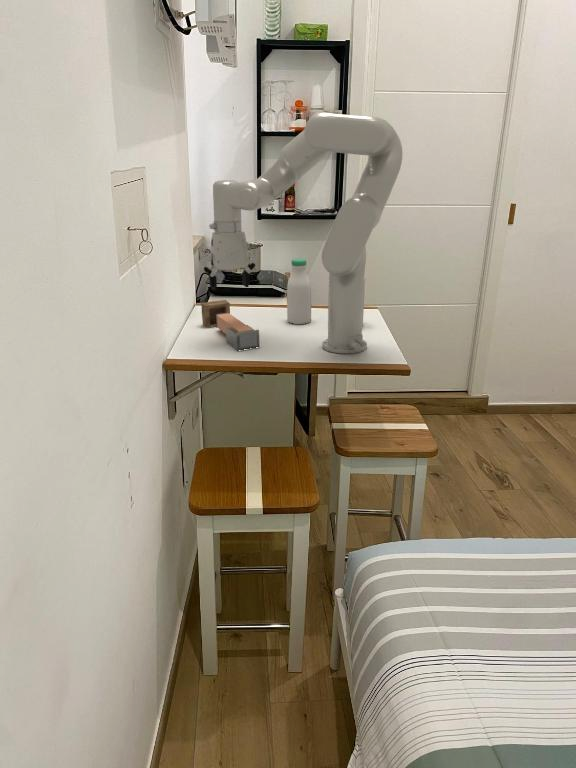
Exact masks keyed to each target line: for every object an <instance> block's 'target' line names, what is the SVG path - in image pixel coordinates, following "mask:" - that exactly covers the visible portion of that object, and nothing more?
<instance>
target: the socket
mask: <svg viewBox="0 0 576 768" xmlns="http://www.w3.org/2000/svg"><path fill="white" fill-rule="evenodd" d="M200 304H201V305H200V306H201V318H202V319H201V321H202V326H203V327H205V328H206V329H209V328H217V322H216V314H223V313H229V314H231V309H230V308H231V307H230V304H231V303H230V302H229V301H228V300H227V299H223V300H222V299H221V300H215V301H206V302H201V303H200Z"/></svg>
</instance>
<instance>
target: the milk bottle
mask: <svg viewBox="0 0 576 768" xmlns="http://www.w3.org/2000/svg"><path fill="white" fill-rule="evenodd" d="M306 267H307V259H305V258H293V259H291V269H292V270H291V273H290V276H289V278H288V280H287V287H286V307H287V308H286V310H287V311H286V313H287V314H286V315H287V316H286V317H287V322H288V323H289V322H290V323H289V324H292V323H293V325H306V324H309V323H310V322H311V321H312V284H311V281H310V278H309V276H308V273H307V270H306ZM305 323H306V324H305Z"/></svg>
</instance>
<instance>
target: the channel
mask: <svg viewBox="0 0 576 768" xmlns="http://www.w3.org/2000/svg"><path fill="white" fill-rule="evenodd" d="M246 325H247V326H248V327H250V328H251V329H253V331H246V332H239V333H235V332H234V331H233V330H231V329H230V328H226V334H225V335H226V337H225V338H226V343H227V344H228V345H229V346H230V347H232V348H233V349H234V348H235V349H234V350H235V351H237V352H240V351H239V350H243V351H245V350H244V349H249V350H251V349H250V348H255V349H257V348H256V347H260V330H259V329H254V328H253V327H252V326H250V325H248V324H246Z"/></svg>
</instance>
